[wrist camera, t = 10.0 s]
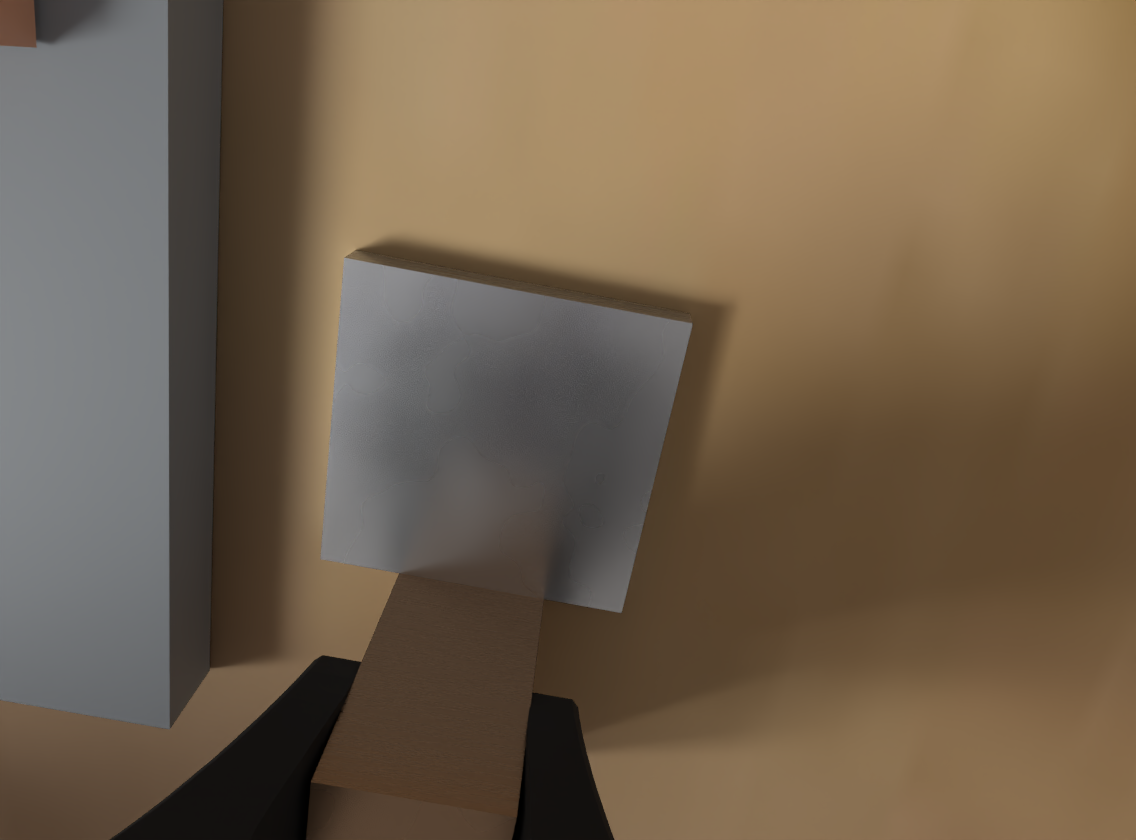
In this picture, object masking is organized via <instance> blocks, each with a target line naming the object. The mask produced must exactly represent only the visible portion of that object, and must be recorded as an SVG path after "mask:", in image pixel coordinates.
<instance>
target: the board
mask: <svg viewBox="0 0 1136 840" xmlns="http://www.w3.org/2000/svg"><path fill="white" fill-rule="evenodd" d="M34 10H35V28H36V46H37V48H34V47H17V46H0V700H3V701H9V702H14V703H20V704H26V705H32V706H37V707H43V708H49V709H55V710H60V711H66V712H72V713H78V714H84V715H89V716H95V717H101V718H107V719H112V720H118V721H124V722H130V723H135V724H141V725H147V726H153V727H158V728H164V729H170V728H171V727H172V725H173V724H174V722H175V721H176V719H177V718H178V716H179V715H180V713H181V712H182V710H183V709H184V708H185V706H186V705H187V703H188V702H189V700H190V699H191V697H192V696H193V694H194V693H195V691H196V690H197V688H198V687H199V685H200V684H201V682H202V681H203V680H204V678H205V677H206V675H207V674H208V672H209V671H210V626H211V576H212V527H213V478H214V428H215V379H216V329H217V280H218V231H219V181H220V132H221V82H222V33H223V0H34Z"/></svg>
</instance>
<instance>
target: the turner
mask: <svg viewBox="0 0 1136 840" xmlns="http://www.w3.org/2000/svg"><path fill="white" fill-rule="evenodd" d="M692 325H693V323H692V320H691V317H690V314H689V313H686V312H680V311H675V310H670V309H665V308H659V307H654V306H649V305H644V304H638V303H633V302H628V301H622V300H617V299H612V298H607V297H601V296H596V295H591V294H586V293H580V292H575V291H570V290H564V289H559V288H554V287H549V286H543V285H538V284H533V283H528V282H522V281H517V280H512V279H506V278H501V277H496V276H491V275H485V274H480V273H475V272H470V271H464V270H459V269H454V268H448V267H443V266H438V265H433V264H427V263H422V262H417V261H411V260H406V259H401V258H396V257H390V256H385V255H380V254H375V253H369V252H364V251H359V250H355V251H354V252H352V253H351V254H349V255H348V256H346V257H345V258H344V268H343V281H342V293H341V306H340V319H339V331H338V344H337V356H336V369H335V382H334V394H333V407H332V420H331V432H330V445H329V458H328V470H327V483H326V496H325V508H324V521H323V533H322V546H321V559H323V560H328V561H334V562H340V563H345V564H351V565H356V566H362V567H367V568H373V569H379V570H384V571H390V572H395V573H399V575H398V578H397V580H396V582H395V585H394V587H393V589H392V592H391V594H390V596H389V599H388V601H387V603H386V606H385V608H384V611H383V613H382V615H381V618H380V620H379V622H378V625H377V627H376V629H375V632H374V634H373V636H372V639H371V641H370V644H369V646H368V648H367V651H366V653H365V655H364V658H363V660H362V662H361V665H360V667H359V670H358V672H357V674H356V677H355V679H354V681H353V684H352V686H351V688H350V691H349V693H348V695H347V698H346V700H345V703H344V705H343V707H342V710H341V712H340V714H339V717H338V719H337V721H336V724H335V726H334V729H333V731H332V733H331V736H330V738H329V740H328V743H327V745H326V747H325V750H324V752H323V754H322V757H321V759H320V762H319V764H318V766H317V769H316V771H315V773H314V776H313V778H312V780H311V786H310V798H309V810H308V822H307V834H306V840H512V837H513V833H514V828H515V823H516V818H517V811H518V803H519V795H520V787H521V779H522V771H523V763H524V755H525V747H526V731H527V724H528V716H529V708H530V707H531V699H532V691H533V682H534V674H535V666H536V658H537V650H538V642H539V634H540V626H541V618H542V610H543V602H544V599H546V600H552V601H557V602H563V603H568V604H574V605H580V606H585V607H591V608H596V609H602V610H607V611H613V612H619V613H622V609H623V605H624V601H625V597H626V593H627V589H628V585H629V581H630V577H631V573H632V569H633V565H634V561H635V557H636V553H637V548H638V544H639V540H640V536H641V532H642V528H643V524H644V520H645V516H646V512H647V508H648V504H649V500H650V496H651V492H652V488H653V483H654V479H655V475H656V471H657V467H658V463H659V459H660V455H661V451H662V447H663V443H664V439H665V435H666V431H667V427H668V423H669V419H670V414H671V410H672V406H673V402H674V398H675V394H676V390H677V386H678V382H679V378H680V374H681V370H682V366H683V362H684V358H685V354H686V349H687V345H688V341H689V337H690V333H691V329H692Z"/></svg>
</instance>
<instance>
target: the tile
mask: <svg viewBox="0 0 1136 840" xmlns="http://www.w3.org/2000/svg"><path fill="white" fill-rule="evenodd" d="M0 46H17V47H34V48H37V46H36V28H35V10H34V0H0Z"/></svg>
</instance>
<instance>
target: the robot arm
mask: <svg viewBox="0 0 1136 840" xmlns="http://www.w3.org/2000/svg"><path fill="white" fill-rule="evenodd" d="M360 665H361V662H357V661H352V660H346V659H340V658H335V657H329V656H321V657H319V658H318V659H316V660H314V661H313V662H312V664H311V665H310V666H309V667H308V668H307V669H306V670H305V671H304V672H303V673H302V674H301V675H300V676H299V678H298V679H297V680H296V681H295V682H294V683H293V684H292V685H291V686H290V687H289V688H288V689H287V690H286V691H285V692H284V693H283V694H282V695H281V696H280V697H279V698H278V699H277V700H276V701H275V702H274V703H273V704H272V705H271V706H270V707H269V708H268V709H267V710H266V711H265V712H264V713H263V714H262V715H261V716H260V717H259V718H257V719H256V720H255V721H254V722H253V723H252V724H251V725H250V726H249V727H248V728H247V729H246V730H244V731H243V732H242V733H241V734H240V735H239V736H238V737H237V738H236V739H235V740H234V741H232V742H231V743H230V744H229V745H228V746H227V747H226V748H225V749H224V750H223V751H221V752H220V753H219V754H218V755H217V756H216V757H215V758H213V759H212V760H211V761H210V762H209V763H208V764H206V765H205V766H204V767H203V768H201V769H200V770H199V771H198V772H197V773H195V774H194V775H193V776H192V777H191V778H189V779H188V780H187V781H186V782H185V783H183V784H182V785H181V786H180V787H179V788H177V789H176V790H175V791H174V792H172V793H171V794H170V795H169V796H168V797H166V798H165V799H164V800H163V801H161V802H160V803H159V804H157V805H156V806H155V807H153V808H152V809H151V810H150V811H148V812H147V813H146V814H144V815H143V816H142V817H140V818H139V819H138V820H136V821H135V822H134V823H132V824H131V825H130V826H128V827H127V828H125V829H124V830H123V831H121V832H120V833H118V834H117V835H116V836H114V837H113V838H111V839H110V840H306V834H307V822H308V810H309V798H310V786H311V780H312V778H313V776H314V773H315V771H316V769H317V766H318V764H319V762H320V759H321V757H322V754H323V752H324V750H325V747H326V745H327V743H328V740H329V738H330V736H331V733H332V731H333V729H334V726H335V724H336V721H337V719H338V717H339V714H340V712H341V710H342V707H343V705H344V703H345V700H346V698H347V695H348V693H349V691H350V688H351V686H352V684H353V681H354V679H355V677H356V674H357V672H358V670H359V667H360ZM512 840H614V838H613V835H612V832H611V829H610V826H609V824H608V821H607V818H606V815H605V812H604V809H603V806H602V803H601V800H600V797H599V794H598V791H597V788H596V785H595V781H594V778H593V775H592V771H591V767H590V763H589V760H588V756H587V752H586V748H585V744H584V740H583V735H582V730H581V725H580V719H579V712H578V707H577V705H576V704H575V703H574V701H573V700H572V699H566V698H560V697H555V696H549V695H543V694H538V693H532V699H531V707H530V708H529V716H528V724H527V731H526V747H525V755H524V763H523V771H522V779H521V787H520V795H519V803H518V811H517V818H516V823H515V828H514V833H513V837H512Z"/></svg>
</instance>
